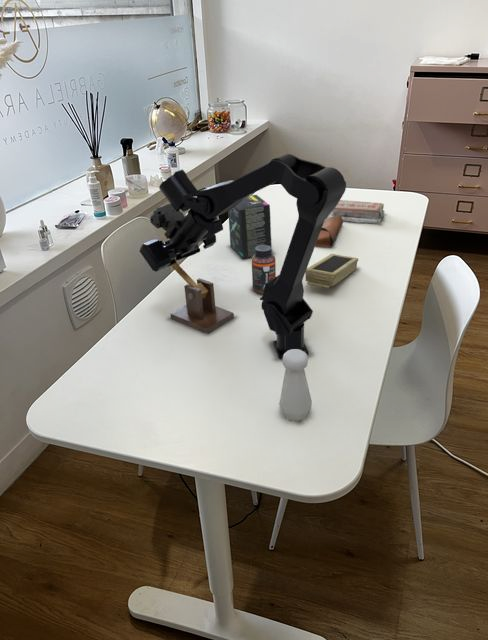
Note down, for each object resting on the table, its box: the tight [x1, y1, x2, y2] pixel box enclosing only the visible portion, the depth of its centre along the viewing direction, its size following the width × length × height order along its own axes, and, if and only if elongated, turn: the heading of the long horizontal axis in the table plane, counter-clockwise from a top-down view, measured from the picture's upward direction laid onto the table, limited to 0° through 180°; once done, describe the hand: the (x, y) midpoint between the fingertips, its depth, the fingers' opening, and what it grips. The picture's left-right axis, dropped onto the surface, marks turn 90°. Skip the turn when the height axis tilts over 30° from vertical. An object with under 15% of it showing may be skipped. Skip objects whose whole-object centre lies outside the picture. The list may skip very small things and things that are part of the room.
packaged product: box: [326, 199, 385, 225], centre depth 184 cm, size 18×5×10 cm
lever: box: [170, 258, 208, 299], centre depth 129 cm, size 14×4×4 cm
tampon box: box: [227, 194, 273, 259], centre depth 161 cm, size 11×9×15 cm
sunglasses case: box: [315, 215, 344, 249], centre depth 172 cm, size 18×7×7 cm, turn 165°
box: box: [305, 253, 359, 289], centre depth 147 cm, size 8×22×5 cm, turn 155°
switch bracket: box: [169, 278, 235, 335], centre depth 129 cm, size 12×9×9 cm
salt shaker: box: [278, 349, 313, 422], centre depth 98 cm, size 6×6×13 cm
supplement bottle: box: [251, 245, 277, 295], centre depth 140 cm, size 6×6×11 cm
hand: (165, 262), depth 132 cm, fingers closed on lever, 3 cm apart
